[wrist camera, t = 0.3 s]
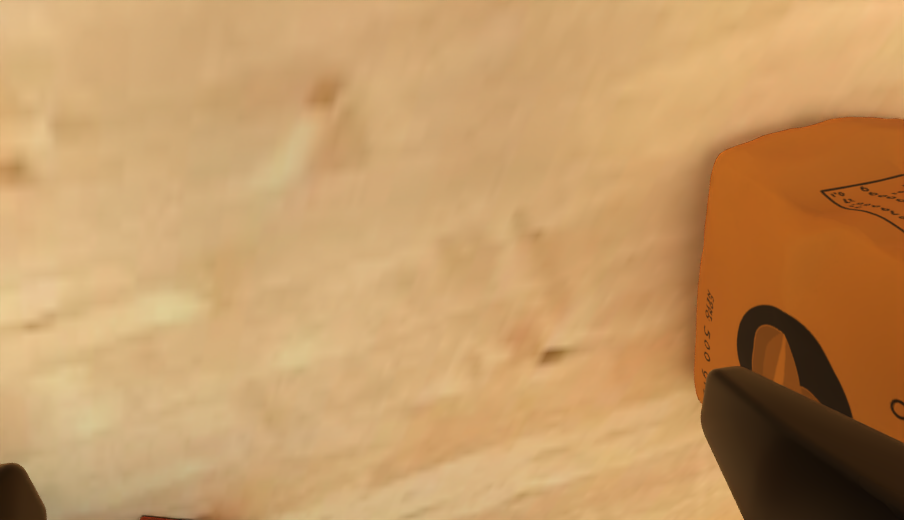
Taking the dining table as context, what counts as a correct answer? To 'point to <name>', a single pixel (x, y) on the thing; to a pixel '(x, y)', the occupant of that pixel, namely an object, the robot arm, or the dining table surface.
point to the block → (153, 519)
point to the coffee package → (810, 266)
